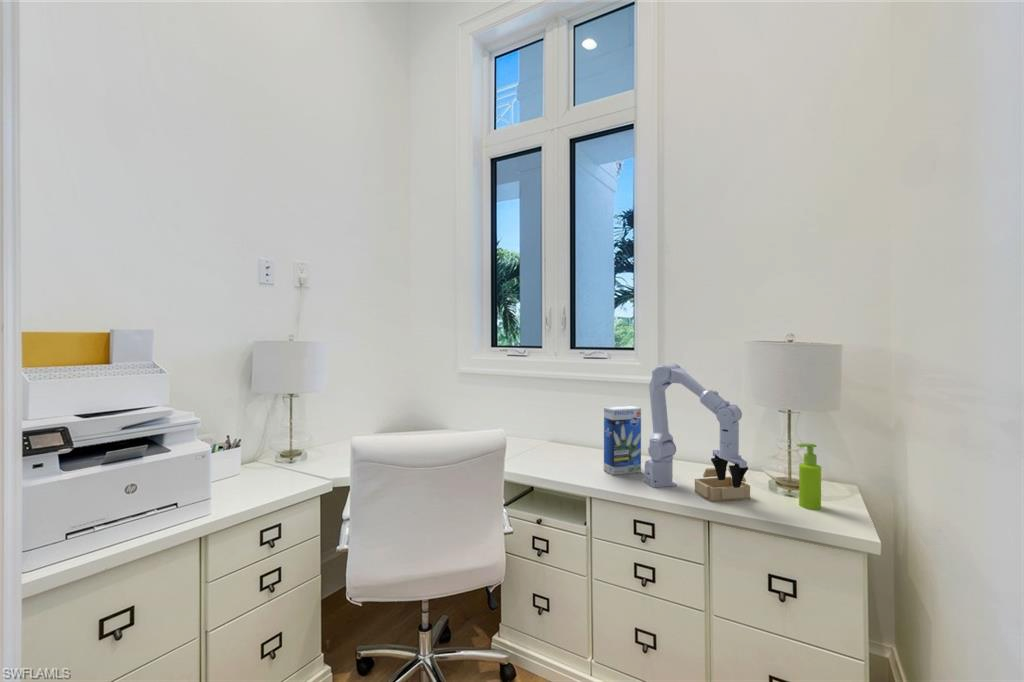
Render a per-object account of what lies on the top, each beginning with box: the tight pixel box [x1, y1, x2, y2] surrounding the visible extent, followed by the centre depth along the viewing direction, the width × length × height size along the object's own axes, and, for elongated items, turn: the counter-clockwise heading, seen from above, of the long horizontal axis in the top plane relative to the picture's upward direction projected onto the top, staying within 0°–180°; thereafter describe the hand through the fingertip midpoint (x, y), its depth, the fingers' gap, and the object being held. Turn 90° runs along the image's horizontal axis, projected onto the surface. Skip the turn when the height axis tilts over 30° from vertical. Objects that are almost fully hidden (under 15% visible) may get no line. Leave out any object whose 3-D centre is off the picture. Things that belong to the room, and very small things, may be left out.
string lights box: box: [603, 405, 642, 476], centre depth 185 cm, size 13×8×26 cm, turn 109°
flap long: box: [702, 467, 728, 478], centre depth 161 cm, size 8×1×4 cm
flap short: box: [726, 466, 747, 483], centre depth 158 cm, size 1×7×4 cm, turn 11°
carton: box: [694, 475, 751, 503], centre depth 156 cm, size 15×11×5 cm
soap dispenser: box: [796, 442, 822, 511], centre depth 147 cm, size 6×7×20 cm
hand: (728, 483), depth 151 cm, fingers open, 7 cm apart
